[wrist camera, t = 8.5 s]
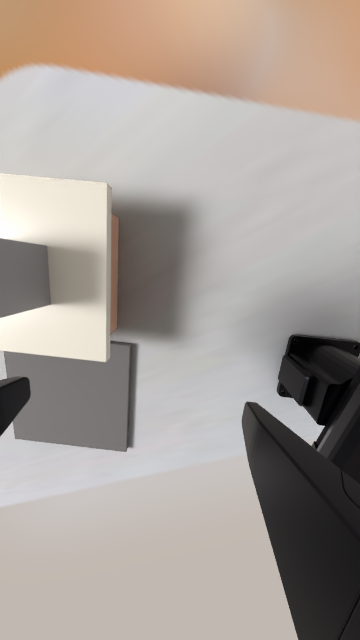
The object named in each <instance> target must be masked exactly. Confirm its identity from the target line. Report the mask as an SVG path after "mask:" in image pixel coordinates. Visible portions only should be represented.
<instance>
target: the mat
mask: <svg viewBox="0 0 360 640" xmlns="http://www.w3.org/2000/svg"><path fill="white" fill-rule="evenodd" d="M4 357H5V364H6V372H7V378H10V377H14V376H25V377H28V378H29V380H30V390H31V396H30V399H29V401H28V402H27V403H26V405H25V406H24V407H23V408H22V410H21V411H20V412H19V414H18V415H17V416H16V417H15V419H14V420H13V426H14V433H15V439H22V440H31V441H39V442H47V443H56V444H64V445H72V446H81V447H89V448H97V449H106V450H114V451H123V452H126V451H127V448H128V423H129V396H130V368H131V343H121V342H112V341H110V358H109V359H108V360H107V362H100V361H91V360H82V359H73V358H64V357H55V356H46V355H37V354H28V353H18V352H9V351H4Z"/></svg>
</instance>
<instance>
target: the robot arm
mask: <svg viewBox="0 0 360 640" xmlns="http://www.w3.org/2000/svg"><path fill="white" fill-rule="evenodd" d="M296 338H297V341H296V342H294V339H296ZM354 345H355V347H354V348H353V346H354ZM359 353H360V343H359V342H356V341H352V340H342V339H333V338H323V337H313V336H304V335H292V336H291V337H290V338H289V341H288V345H287V349H286V353H285V355H284V356H283V359H282V363H281V367H280V372H279V376H278V379H279V383H278V387H277V393H278V394H279V395H280V396H282V397H289V398H294V400H295V401H296V402H297V403H298V405H299V406H303V407H304V408H305V409H306V410H307V412H308V413H309V414H310V415H311V417H312V418H313V419H314V420H315V421H316V423H317V424H318V425H323V426H325V427H324V429H323V431H322V432H321V434H320V436H319V437H318V439H317V441H316V442H315V441H314V443H313V444H312V446H310V445H309V444H308V443H307V442H305V441H304V440H303V439H302V438H300V437H299V436H298V435H297V434H295V433H294V432H293V431H292V430H290V429H289V428H288V427H286V426H285V425H284V424H283V423H281V422H280V421H279V420H278V419H276V418H275V417H274V416H273V415H271V414H270V413H269V412H267V411H266V410H265V409H264V408H262V407H261V406H260V405H259V404H257V403H255V402H246V403H245V406H244V411H243V416H242V428H243V434H244V440H245V445H246V451H247V457H248V462H249V466H250V470H251V474H252V478H253V481H254V485H255V488H256V492H257V495H258V499H259V502H260V506H261V509H262V513H263V516H264V520H265V523H266V527H267V531H268V534H269V538H270V541H271V545H272V548H273V552H274V555H275V559H276V562H277V566H278V569H279V573H280V577H281V580H282V583H283V587H284V590H285V594H286V598H287V601H288V605H289V608H290V611H291V615H292V619H293V622H294V626H295V630H296V633H297V637H298V640H360V358H358V356H359ZM282 390H284V392H281V391H282ZM30 396H31V390H30V380H29V378H28V377H25V376H14V377H10V378H7V379H3V380H0V436H1V435H2V434H3V433H4V431H5V430H6V429H7V428H8V426H9V425H10V424H11V422H12V421H13V420H14V419H15V417H16V416H17V415H18V414H19V412H20V411H21V410H22V408H23V407H24V406H25V405H26V403H27V402H28V401H29V399H30Z"/></svg>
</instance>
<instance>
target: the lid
mask: <svg viewBox="0 0 360 640" xmlns="http://www.w3.org/2000/svg"><path fill="white" fill-rule="evenodd" d="M111 208H112V188H111V187H110V186H109V185H108V184H107V183H102V182H91V181H80V180H68V179H57V178H46V177H34V176H23V175H12V174H0V351H9V352H18V353H28V354H37V355H46V356H55V357H64V358H73V359H82V360H91V361H100V362H107V360H108V359H109V358H110V308H111Z"/></svg>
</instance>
